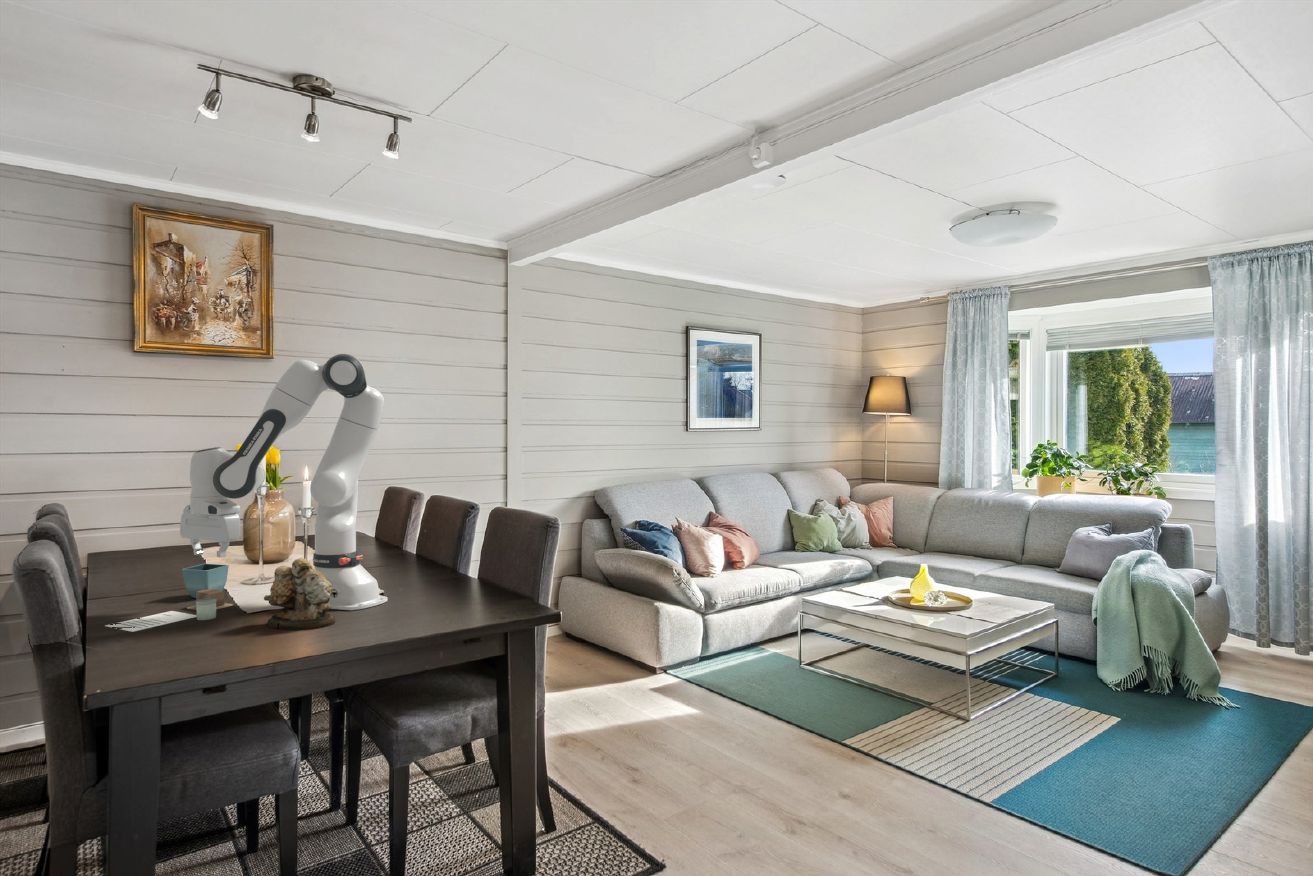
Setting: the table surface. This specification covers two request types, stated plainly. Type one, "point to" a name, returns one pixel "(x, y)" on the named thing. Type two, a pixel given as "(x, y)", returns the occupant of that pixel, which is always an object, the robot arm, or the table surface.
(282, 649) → the table surface
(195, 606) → the coaster
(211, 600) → the jar
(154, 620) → the letter
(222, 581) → the flower pot
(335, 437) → the robot arm
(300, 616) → the owl figurine
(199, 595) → the walnut block
